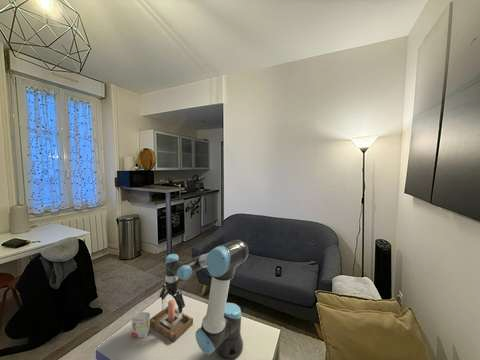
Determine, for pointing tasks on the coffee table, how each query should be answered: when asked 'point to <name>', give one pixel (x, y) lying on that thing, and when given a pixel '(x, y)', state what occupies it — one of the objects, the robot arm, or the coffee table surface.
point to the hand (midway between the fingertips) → (171, 312)
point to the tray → (166, 332)
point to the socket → (173, 325)
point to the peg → (171, 311)
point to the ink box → (140, 324)
